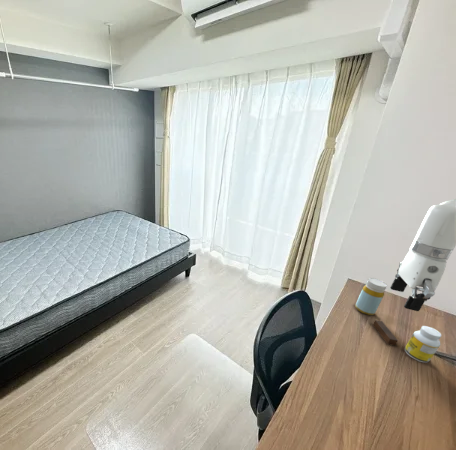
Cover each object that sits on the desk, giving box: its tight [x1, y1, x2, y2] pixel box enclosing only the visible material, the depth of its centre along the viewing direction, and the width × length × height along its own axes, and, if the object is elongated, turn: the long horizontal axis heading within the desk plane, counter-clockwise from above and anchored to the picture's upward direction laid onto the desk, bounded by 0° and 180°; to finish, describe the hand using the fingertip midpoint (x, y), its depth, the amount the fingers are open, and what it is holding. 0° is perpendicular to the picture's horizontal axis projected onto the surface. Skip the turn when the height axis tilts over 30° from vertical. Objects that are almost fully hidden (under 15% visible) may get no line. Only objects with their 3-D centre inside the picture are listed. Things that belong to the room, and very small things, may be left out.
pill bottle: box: [404, 325, 442, 364], centre depth 85 cm, size 6×6×12 cm
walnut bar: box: [372, 319, 399, 346], centre depth 95 cm, size 10×2×2 cm, turn 166°
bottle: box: [354, 277, 388, 316], centre depth 105 cm, size 7×7×15 cm
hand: (403, 299), depth 74 cm, fingers open, 9 cm apart
